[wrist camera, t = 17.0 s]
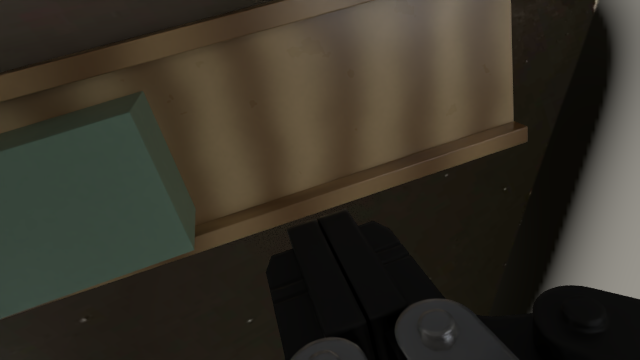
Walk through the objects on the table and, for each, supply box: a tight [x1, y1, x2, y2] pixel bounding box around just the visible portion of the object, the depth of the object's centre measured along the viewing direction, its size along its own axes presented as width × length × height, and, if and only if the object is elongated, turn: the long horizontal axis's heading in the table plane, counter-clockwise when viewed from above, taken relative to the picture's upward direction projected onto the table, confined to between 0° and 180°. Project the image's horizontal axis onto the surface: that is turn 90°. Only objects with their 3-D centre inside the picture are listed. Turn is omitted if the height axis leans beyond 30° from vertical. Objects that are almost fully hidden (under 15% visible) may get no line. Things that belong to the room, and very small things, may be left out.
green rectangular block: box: [0, 91, 196, 319], centre depth 22 cm, size 11×8×5 cm
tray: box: [0, 0, 528, 319], centre depth 26 cm, size 36×13×3 cm, turn 103°
